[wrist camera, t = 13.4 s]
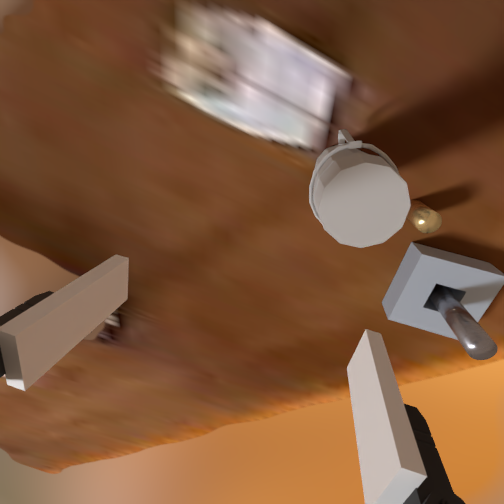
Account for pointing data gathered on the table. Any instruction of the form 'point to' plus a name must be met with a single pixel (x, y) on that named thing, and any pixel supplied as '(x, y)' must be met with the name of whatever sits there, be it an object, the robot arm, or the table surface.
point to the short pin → (423, 217)
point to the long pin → (463, 324)
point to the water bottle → (358, 193)
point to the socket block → (444, 273)
